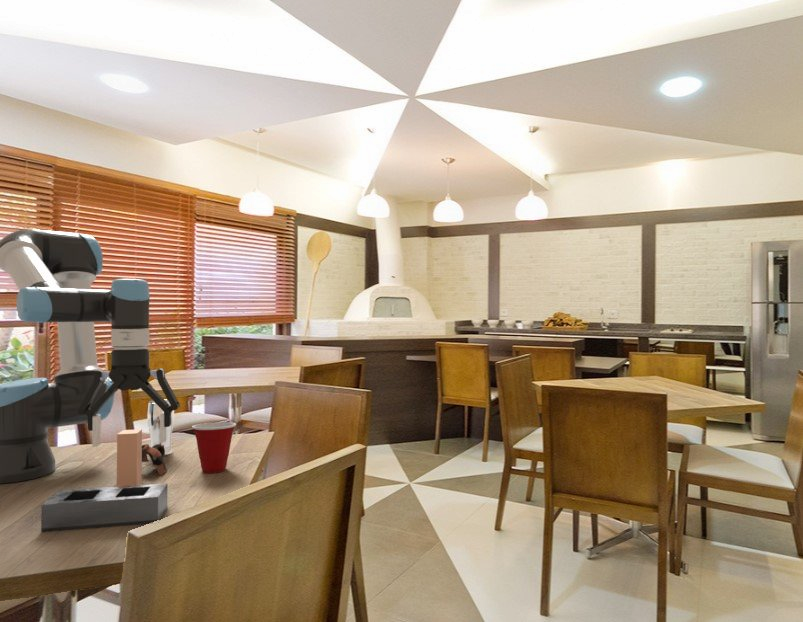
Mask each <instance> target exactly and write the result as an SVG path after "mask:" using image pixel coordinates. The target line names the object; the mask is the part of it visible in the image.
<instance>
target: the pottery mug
mask: <svg viewBox="0 0 803 622" xmlns="http://www.w3.org/2000/svg"><path fill="white" fill-rule="evenodd" d="M164 455H165V449H164V447H163V446H162V445H160V444H157V445H155V446H153V447H150V445H149V444H148V443H145V444H142V463H148V462H150V460H151V462H152V466H157V467H156V471H157V472H158V475H159V476H162V475H164V474H165V472H166V471H167V467H166V466H167V465H166V464H165V463H166V462H165V461H164V457H165V456H166V455H165V456H164ZM148 456H149V458H150V460H149V459H148Z"/></svg>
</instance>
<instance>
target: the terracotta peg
mask: <svg viewBox="0 0 803 622" xmlns="http://www.w3.org/2000/svg"><path fill="white" fill-rule="evenodd" d="M142 445H143V429H140V428H139V429H122V430H121V431H120V432H118V433H117V434H116V487H119V486H135V485H143V484H142V479H143V478H142V475H143V473H142V468H143V466H142V465H143V464H142V463H143V462H142Z"/></svg>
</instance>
